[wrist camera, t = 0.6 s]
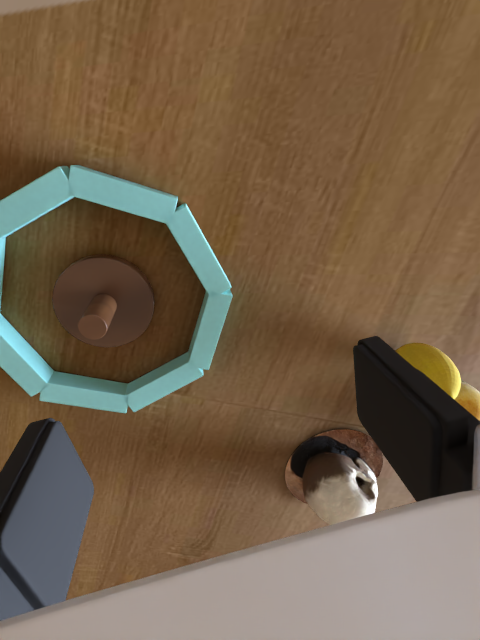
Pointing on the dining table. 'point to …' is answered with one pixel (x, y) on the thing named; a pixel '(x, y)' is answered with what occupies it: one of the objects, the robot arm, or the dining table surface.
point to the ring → (64, 184)
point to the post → (103, 300)
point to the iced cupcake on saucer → (336, 474)
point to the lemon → (433, 366)
